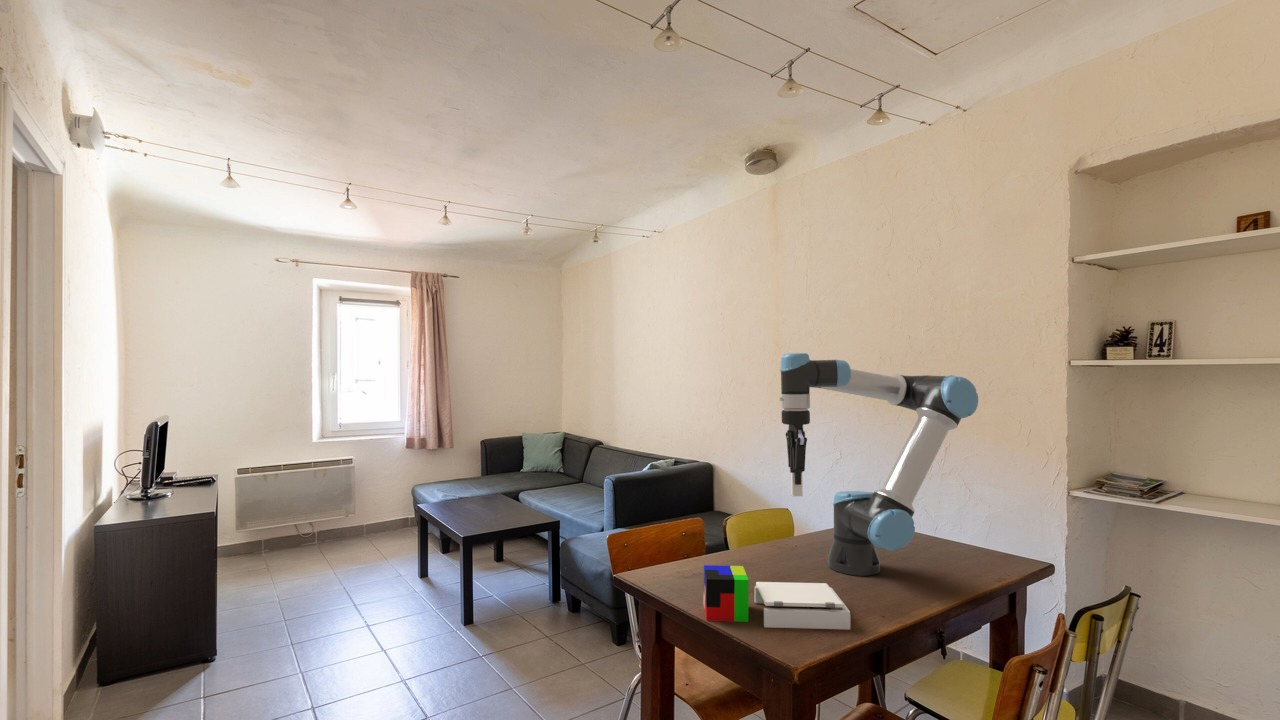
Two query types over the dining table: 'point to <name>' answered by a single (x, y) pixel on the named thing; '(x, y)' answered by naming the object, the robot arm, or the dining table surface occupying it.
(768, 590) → the cover
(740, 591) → the puzzle toy
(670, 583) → the dining table surface
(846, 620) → the white hinged box
